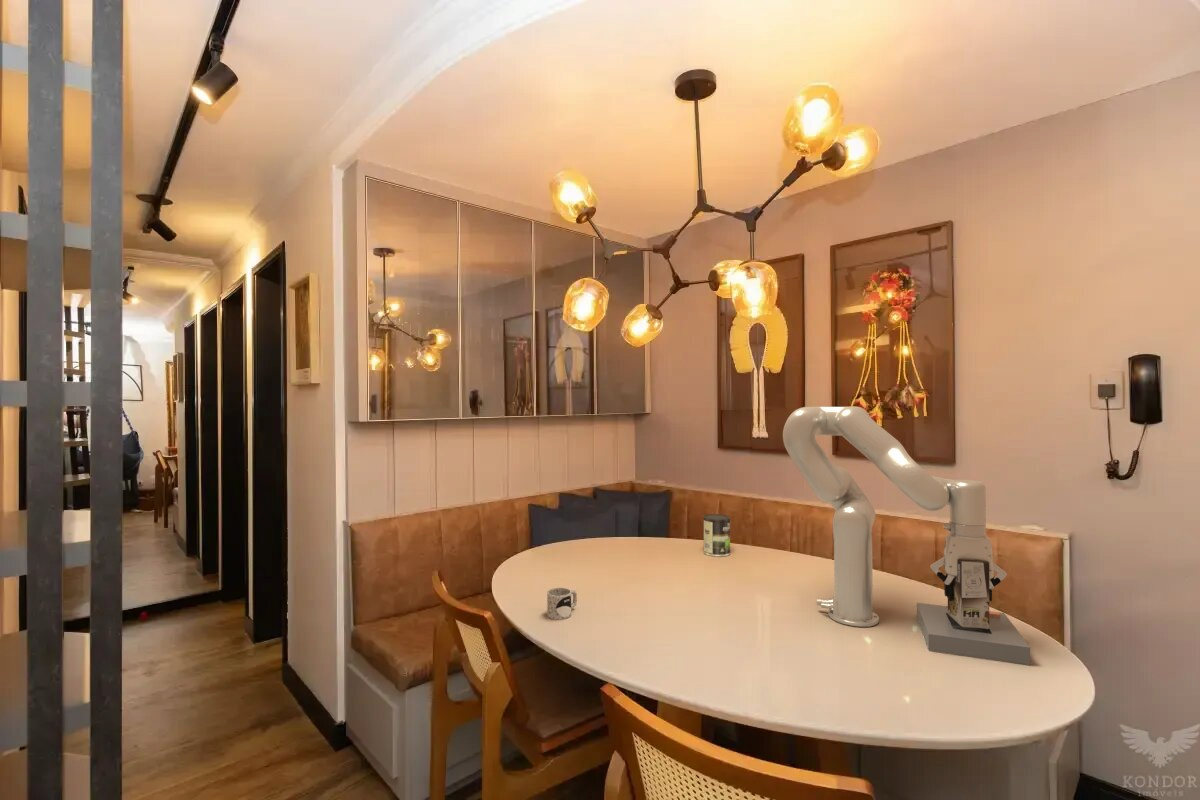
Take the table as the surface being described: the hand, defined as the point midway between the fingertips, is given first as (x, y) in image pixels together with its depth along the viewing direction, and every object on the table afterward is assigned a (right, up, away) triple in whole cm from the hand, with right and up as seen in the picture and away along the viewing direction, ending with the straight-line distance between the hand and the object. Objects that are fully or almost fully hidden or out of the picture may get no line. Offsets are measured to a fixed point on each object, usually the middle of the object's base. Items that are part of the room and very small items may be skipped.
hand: (967, 600), depth 142 cm
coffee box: (0, -5, 0) cm, 5 cm away
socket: (0, -9, 0) cm, 9 cm away
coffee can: (-46, -9, +79) cm, 92 cm away
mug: (-102, -10, +18) cm, 104 cm away
